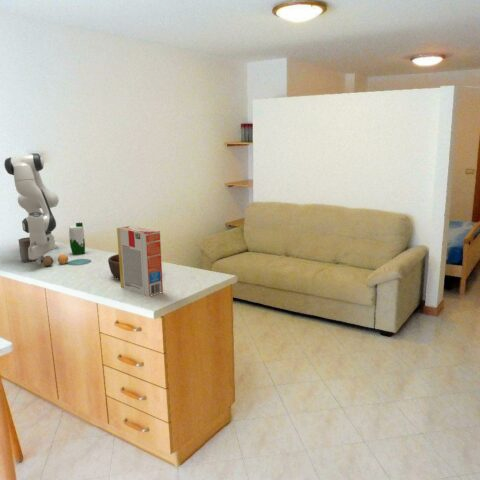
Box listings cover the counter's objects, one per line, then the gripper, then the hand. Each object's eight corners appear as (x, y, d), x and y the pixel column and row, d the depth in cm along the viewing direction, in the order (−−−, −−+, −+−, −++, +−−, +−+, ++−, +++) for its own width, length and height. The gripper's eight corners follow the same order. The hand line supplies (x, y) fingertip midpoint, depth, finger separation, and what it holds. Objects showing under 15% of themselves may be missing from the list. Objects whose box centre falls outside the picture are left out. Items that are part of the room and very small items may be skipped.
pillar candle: (41, 258, 286) (38, 235, 283) (32, 262, 277) (29, 238, 274) (26, 258, 287) (23, 235, 284) (17, 262, 278) (14, 238, 275)
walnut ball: (41, 256, 270) (51, 253, 270) (46, 265, 272) (55, 262, 272) (39, 260, 264) (49, 256, 264) (43, 269, 266) (53, 265, 266)
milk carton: (86, 254, 296) (83, 223, 292) (71, 255, 293) (68, 225, 289) (84, 251, 304) (82, 221, 300) (70, 252, 301) (67, 222, 296)
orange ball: (57, 263, 275) (56, 253, 273) (68, 262, 277) (67, 252, 276) (58, 265, 269) (57, 255, 268) (69, 264, 272) (68, 254, 270)
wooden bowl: (145, 283, 234) (144, 264, 231) (100, 281, 239) (99, 262, 236) (163, 270, 258) (162, 252, 255) (122, 268, 262) (121, 250, 260)
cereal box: (162, 292, 219) (159, 231, 213) (149, 296, 213) (145, 233, 207) (134, 283, 234) (130, 225, 228) (120, 287, 228) (116, 228, 222)
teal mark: (66, 260, 280) (66, 260, 280) (90, 258, 285) (90, 258, 285) (67, 266, 268) (67, 265, 267) (92, 263, 273) (92, 263, 273)
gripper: (35, 244, 255) (37, 268, 258) (51, 236, 275) (53, 259, 278) (23, 244, 255) (26, 268, 258) (40, 236, 275) (43, 259, 278)
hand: (40, 263), depth 268 cm, fingers closed
